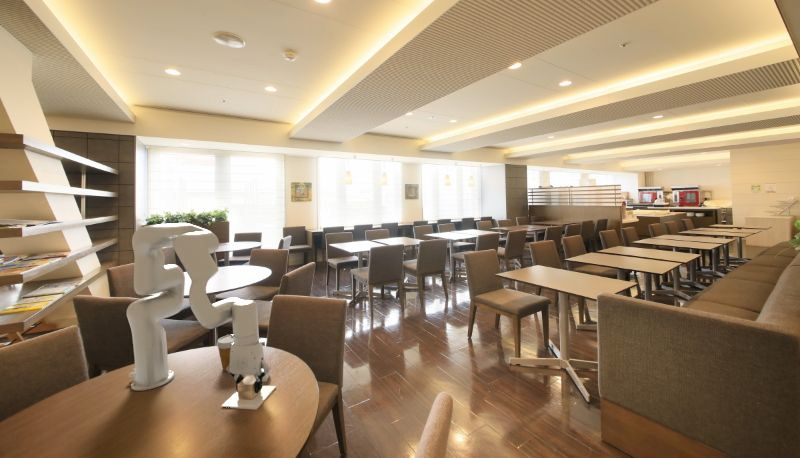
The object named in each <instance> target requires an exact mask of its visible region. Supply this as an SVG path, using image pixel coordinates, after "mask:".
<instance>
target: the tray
mask: <svg viewBox="0 0 800 458" xmlns="http://www.w3.org/2000/svg"><path fill="white" fill-rule="evenodd" d="M276 388H277V386H276V385H263V386H262V389H261V392H260V393H259V394H258V395H257V396H256V397H255V398H254V399H253V400H244V399H238V392H237V391H235V392H234V393H233V394H232V395H231V396H230V397H229V398H228V399H227V400H225V402H224V403H223V404H221V408H223V407H226V408H227V407H228V408H227V409H229V407H230V409H242V410H243V409H244V410H258V409H259V408H260V407H261V405H262V404H263V403H265V401H266V400H267V399H268V398H269V396H270V395H272V393H273V392H274V390H275V389H276Z"/></svg>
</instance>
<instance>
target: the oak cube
mask: <svg viewBox="0 0 800 458" xmlns="http://www.w3.org/2000/svg"><path fill="white" fill-rule="evenodd" d="M255 381H256V379H255V377H254V376H249V375H245V377H244V379H243V380H242V381H241V382H240V383H239V384H237V387H238V399H244V400H253V399H254V398H255V397H256V396H257V395H258V394H259V393H260V392H261V390H260V391H259V392H258V393H255V385H254V382H255Z"/></svg>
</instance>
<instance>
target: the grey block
mask: <svg viewBox="0 0 800 458" xmlns="http://www.w3.org/2000/svg"><path fill="white" fill-rule="evenodd" d="M261 370H262V373H263V372H264V369H261ZM258 375H259V374H258ZM269 378H270V371H269V372H268V373H267V374H266V375H265V376H264V377H263V378H262V383H265V382H267V381H268V380H269ZM267 383H268V382H267Z"/></svg>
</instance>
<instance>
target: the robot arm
mask: <svg viewBox="0 0 800 458" xmlns="http://www.w3.org/2000/svg"><path fill="white" fill-rule="evenodd" d="M131 243H132V249H133V255H134V263H133V265H134V267H133V268H134V269H133V290H134V292H135V293H136V295H137V294H138V295H139V296H146V297H142V298H139V299H137V300H135V301H133V302H131V303H130V304H129V305H128V307H127V309H126V317H127V320H128V323H129V326H130V330H131V335H132V337H131V338H132V344H133V346H132V347H133V355H134V366H135V367H134V368H132V370H131V372H129V373H128V377H129V378H133V379H134V380H133V381H132V382H131V385H130V386H131V390H133V391H139V392H140V391H141V392H142V391H147V390H148V391H149V390H152V389H155V388H156V389H157V388H158V387H162V386H163V385H165V384H168V383H169V382H170V381H171V380H172V379H174V377H175V372H174V371H173V370H171V369H169V359H168V358H169V357H168V346H167V344H168V343H167V332H166V330H165V329H164V327H163V326H162V325H161V324H160V323H159V321H160V320H161V321H162V320H164V319H166V318H170V317H172V316H174V315H176V314H178V313H180V312H181V310H182V309H183V306H184V299H185V298H184V297H185V285H186V283H185V282H186V277H185V273H184V271H183V269H182V268H181V267H180V265H177V264H172V263H171V264H170V263H169V264H165V263H166V262H165V261H166V260H165V259H166V257H165V254H164V252H163V250H162V249H169V248H173V250H174V252H175V254H176V255H177V257H178V259H179V261H180V263H181V264H182V265H183V268H184V269H185V271H186V273H187V275H188V277H189V278H190V280H191V283H190V287H189V290H188V302H189V303H188V304H189V307H190V310H191V311H192V313H193V315H194V317H195V318H196V320H197V321H198V322H199V324H200V325H201V326H202V327H203V328H205V329H211V330H212V329H216V328H218V327H220V326H222V325H225V324H226V323H229V322H232V333H233V334H232V335H231V334H230V335H231V338H233V339H234V343H232V345H231V350H230V364H229V365H228V367H227V368H226V370H227V371H228V372H227V373H229V374H230V375H231V377H233V381H235V388H236V392H238V387H237V384H239V383H240V382H241V381H242V380H243V379H244V378H245V377H244V376H253V377H255V379H256V381H255V382H254V385H255V393H258V392H259V391H260V390H261V389H262V386H264V384H263V382H262V378H263V377H264V376H265V375H266V374H267V373H268V372H269V373H270V371H271V369H272V368H271V367H270V366H269V365H268V363H266V362H265V361H266V359H265V351H264V348H263V344H262V340H261V339H260V335H259V315H258V312H259V311H258V303H257V302H256V301H255V300H253V299H242V298H239V297H236V296H232V297H227V298H223V299H222V300H218V301H216V302H214V303H212V302H211V301H210V299H209V296H208V295H207V285H208V283H209V281H210V279H212V278H213V277H215V275H216V274H217V273H218V272H219V267H218V265H217V263H216V262H215V261H214V258H213V257H212V255H211V254H213V253H215V252H217V250H218V249H219V247H220V242H219V239H218V237H217V235H216V234H215V233H214V232H212V231H211V230H208V229H206V228H202V227H200V226H197V225H194V224H191V223H187V222H178V223H177V222H175V223H160V224H150V225H144V226H141V227H139V228H137V230H135V232H134V233H133V234H132V238H131ZM261 369H264V372H263V373H262V370H261ZM258 374H259V375H258Z"/></svg>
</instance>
